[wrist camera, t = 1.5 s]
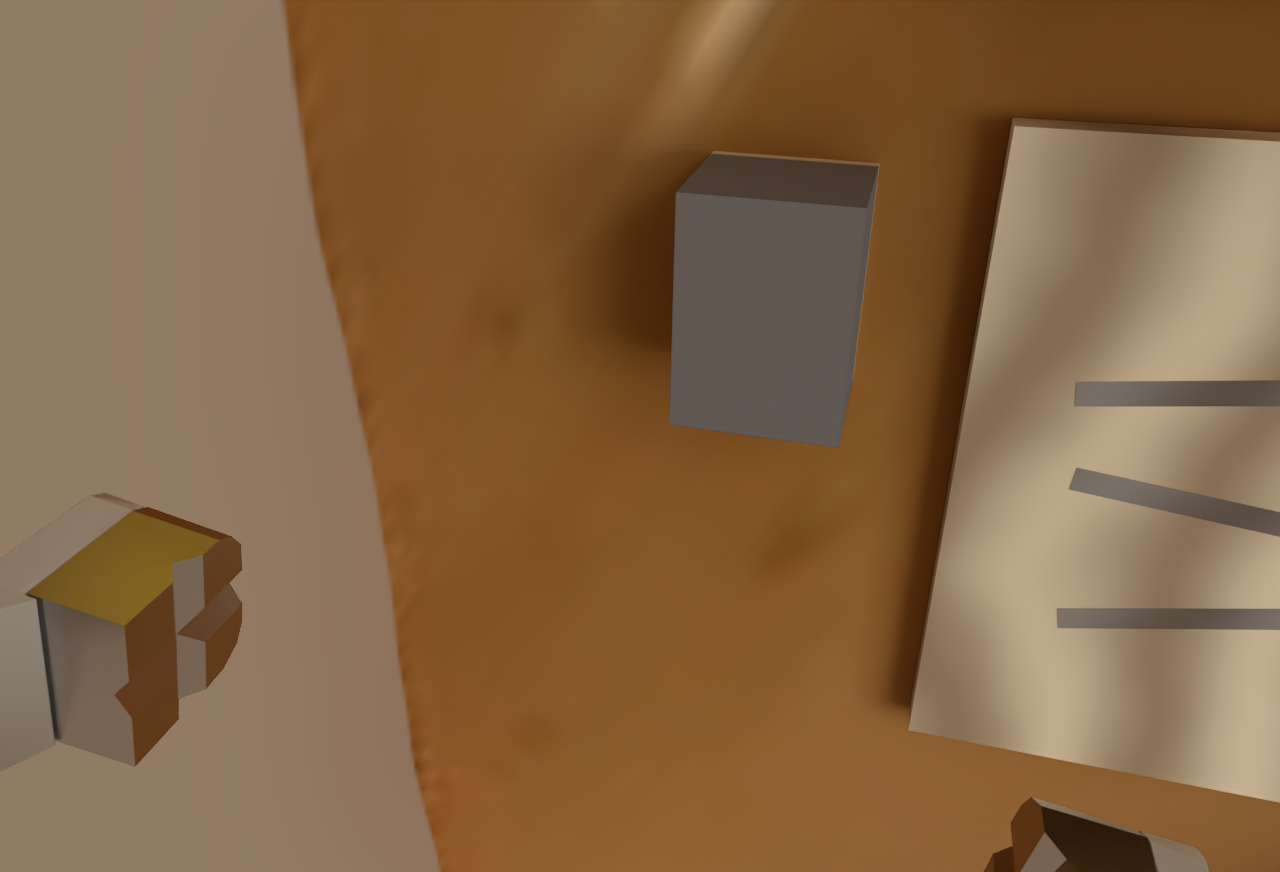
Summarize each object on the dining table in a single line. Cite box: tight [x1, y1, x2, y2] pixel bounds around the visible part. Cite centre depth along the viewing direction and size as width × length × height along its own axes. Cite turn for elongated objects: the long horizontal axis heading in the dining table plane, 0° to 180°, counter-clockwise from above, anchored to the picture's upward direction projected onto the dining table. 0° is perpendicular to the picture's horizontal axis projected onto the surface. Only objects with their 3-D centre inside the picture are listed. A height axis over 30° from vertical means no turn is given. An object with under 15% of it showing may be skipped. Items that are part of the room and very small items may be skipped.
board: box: [908, 118, 1280, 802], centre depth 31 cm, size 16×22×1 cm
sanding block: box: [669, 151, 880, 448], centre depth 30 cm, size 5×7×5 cm
